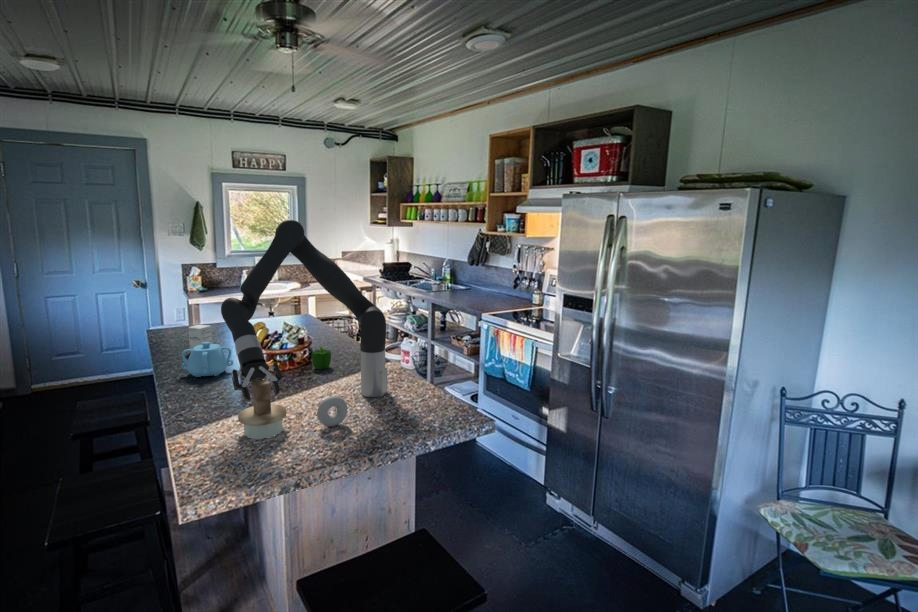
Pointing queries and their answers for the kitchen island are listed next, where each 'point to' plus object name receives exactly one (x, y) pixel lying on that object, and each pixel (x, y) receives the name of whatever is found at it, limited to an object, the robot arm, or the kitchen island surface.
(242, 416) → the lid
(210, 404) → the kitchen island surface
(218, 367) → the decorative pot
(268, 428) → the bowl
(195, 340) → the supplement box
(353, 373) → the kitchen island surface
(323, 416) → the donut
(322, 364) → the bell pepper
